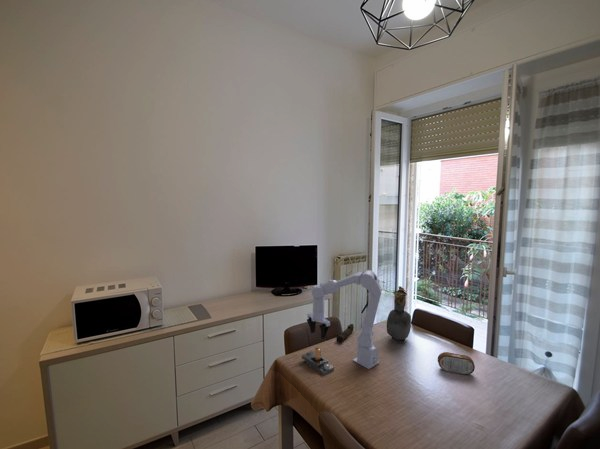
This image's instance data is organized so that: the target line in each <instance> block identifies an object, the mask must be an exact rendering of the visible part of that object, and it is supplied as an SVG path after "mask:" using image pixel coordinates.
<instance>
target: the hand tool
mask: <svg viewBox="0 0 600 449" xmlns="http://www.w3.org/2000/svg"><path fill="white" fill-rule="evenodd" d="M354 328H355V326H354V324H353V323H350V324H349V325H347V327H346V328H345V330H343V331H342V332H341V333H340V334H339V335H337V336H336V337H335V338H336V341H337V343H340V344H341V343H342V344H343V342H344V341H345V340H346V338H348V336H350V335H352V334H353V333H352V332H354ZM351 333H352V334H351Z"/></svg>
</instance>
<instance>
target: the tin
mask: <svg viewBox="0 0 600 449" xmlns="http://www.w3.org/2000/svg"><path fill="white" fill-rule="evenodd" d="M437 362H438V366H439V367H440V369H441V370H443V371H444V372H448V373H453V374H458V375H464V376H468V375H471V374H473V373H474V371H475V368H476V367H475V362H474V360H473V359H472V358H471V357H470V356H468V355H465V354H459V353H454V352H453V353H452V352H448V351H444V352H440V354H439V355H438V357H437Z"/></svg>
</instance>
